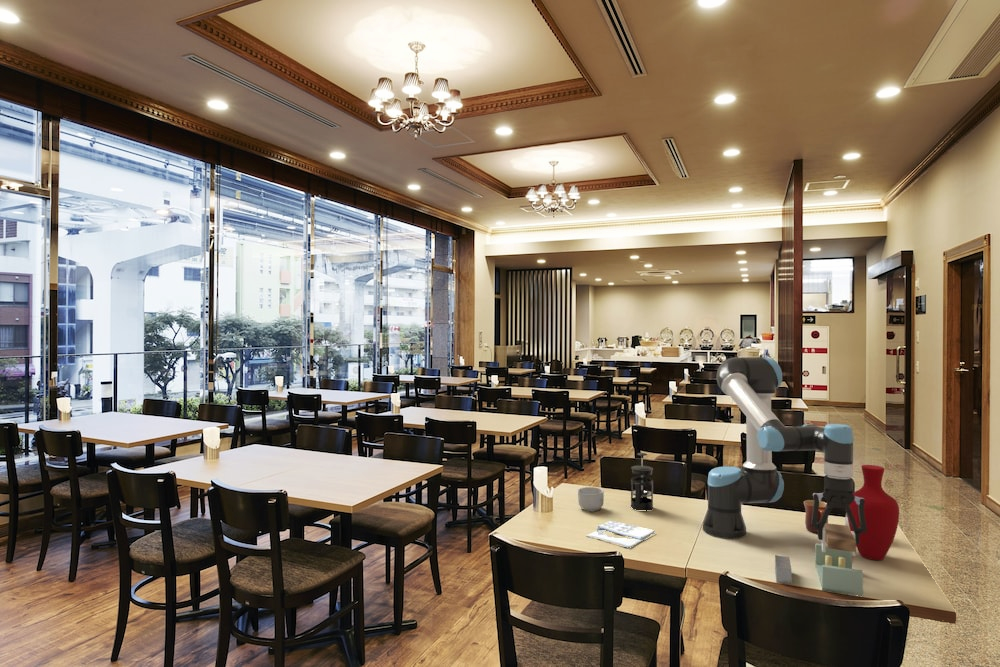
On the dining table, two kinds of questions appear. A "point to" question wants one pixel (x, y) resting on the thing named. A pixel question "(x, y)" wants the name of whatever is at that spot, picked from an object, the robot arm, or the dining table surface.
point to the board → (839, 537)
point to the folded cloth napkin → (622, 533)
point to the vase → (875, 515)
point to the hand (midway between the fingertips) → (838, 552)
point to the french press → (640, 495)
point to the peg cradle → (837, 571)
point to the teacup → (590, 498)
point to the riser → (783, 569)
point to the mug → (809, 510)
